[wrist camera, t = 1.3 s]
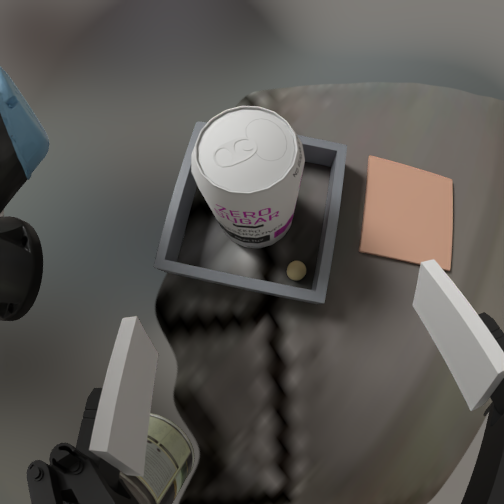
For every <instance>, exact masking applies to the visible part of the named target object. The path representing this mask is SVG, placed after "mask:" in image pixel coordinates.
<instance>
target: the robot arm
mask: <svg viewBox="0 0 504 504" xmlns="http://www.w3.org/2000/svg"><path fill="white" fill-rule="evenodd" d="M48 149H49V139H48V136H47V134H46V132H45V130H44V128H43V127H42V125H41V123H40V122H39V120H38V119H37V117H36V115H35V114H34V112H33V111H32V109H31V108H30V106H29V105H28V103H27V102H26V100H25V99H24V97H23V96H22V94H21V93H20V91H19V90H18V88H17V87H16V85H15V84H14V82H13V81H12V80H11V79H10V77H9V75H8V74H7V73H6V72H5V71H4V70H3V69H2V67H0V213H1V212H2V210H3V209H4V208H5V206H6V205H7V204H8V203H9V201H10V200H11V199H12V198H13V196H14V195H15V194H16V192H17V191H18V190H19V189H20V188H21V187H22V185H23V184H24V183H25V182H26V181H27V180H29V179H30V177H31V174H32V172H33V171H34V170H35V168H36V167H37V166H38V165H39V164H40V162H41V161H42V160H43V159H44V158H45V156H46V154H47V152H48ZM42 273H43V255H42V247H41V244H40V240H39V237H38V235H37V233H36V232H35V230H34V228H33V227H32V226H31V225H30V224H29V223H27V222H25V221H23V220H21V219H18V218H15V217H10V216H8V217H0V320H3V321H14V320H18V319H20V318H21V317H23V316H24V315H25V314H26V313H27V312H28V311H29V310H30V308H31V307H32V305H33V304H34V302H35V300H36V297H37V295H38V292H39V289H40V285H41V279H42ZM413 307H414V309H415V310H416V312H417V314H418V315H419V317H420V318H421V320H422V322H423V323H424V325H425V327H426V329H427V330H428V332H429V334H430V335H431V337H432V339H433V341H434V342H435V344H436V346H437V348H438V349H439V351H440V353H441V355H442V356H443V358H444V360H445V362H446V364H447V366H448V367H449V369H450V371H451V373H452V375H453V377H454V379H455V381H456V383H457V385H458V386H459V388H460V390H461V392H462V394H463V396H464V398H465V400H466V402H467V405H468V407H469V409H470V411H473V410H475V409H477V408H479V407H480V406H482V405H484V404H485V403H486V402H487V400H488V399H489V398H490V397H491V399H492V401H493V402H492V403H491V405H490V406H489V407H488V408H487V409H486V411H485V413H484V416H486V415H487V413H488V412H489V416H488V421H487V424H486V429H485V433H484V437H483V441H482V444H481V448H480V451H479V455H478V458H477V461H476V464H475V467H474V471H473V473H472V476H471V479H470V482H469V485H468V487H467V490H466V493H465V495H464V498H463V500H462V503H461V504H504V333H503V332H502V330H501V329H500V327H499V326H498V325H497V323H496V322H495V320H494V319H493V318H491V317H490V316H489V315H487V314H486V313H485V312H484V313H481V314H479V315H478V314H477V313H476V311H475V310H474V309H473V307H472V306H471V305H470V303H469V302H468V301H467V299H466V298H465V297H464V296H463V294H462V293H461V292H460V290H459V289H458V288H457V287H456V285H455V284H454V283H453V282H452V280H451V279H450V278H449V277H448V275H447V274H446V273H445V272H444V270H443V269H442V268H441V267H440V266H439V264H438V263H437V262H436V261H435V260H434V259H432V260H428V261H424V262H421V265H420V270H419V276H418V281H417V287H416V292H415V296H414V301H413ZM158 356H159V353H158V352H157V350H156V349H155V347H154V345H153V343H152V342H151V340H150V338H149V336H148V335H147V333H146V331H145V329H144V328H143V326H142V324H141V322H140V321H139V319H138V317H137V316H133V317H126V318H122V321H121V325H120V328H119V332H118V335H117V338H116V341H115V345H114V348H113V352H112V355H111V359H110V362H109V366H108V369H107V373H106V377H105V381H104V385H103V388H94V389H93V391H92V392H91V394H90V395H89V397H88V399H87V403H86V407H85V411H84V415H83V420H82V423H81V427H80V432H79V436H78V440H77V445H76V448H75V447H73V446H72V445H70V444H68V443H60V444H58V445H56V446H55V447H54V449H53V450H52V452H51V454H50V465H48V464H46V463H45V462H43V461H41V460H36V461H34V462H32V463H31V464H30V465H29V467H28V470H27V481H28V487H29V492H30V498H31V502H32V504H139V502H138V501H137V500H136V498H135V497H134V496H133V494H132V493H131V492H130V490H129V489H128V487H127V486H126V484H125V483H124V482H123V480H122V479H121V478H120V477H119V475H120V471H121V472H123V473H124V474H126V475H131V476H144V466H145V455H146V445H147V436H148V427H149V419H150V411H151V403H152V396H153V387H154V382H155V375H156V368H157V362H158Z"/></svg>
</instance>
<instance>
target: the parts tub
mask: <svg viewBox="0 0 504 504" xmlns="http://www.w3.org/2000/svg"><path fill="white" fill-rule="evenodd" d="M206 124H207V122H196V125H195V127H194V130H193V133H192V136H191V139H190V142H189V145H188V148H187V151H186V154H185V157H184V160H183V163H182V166H181V170H180V173H179V176H178V179H177V183H176V186H175V189H174V192H173V196H172V200H171V203H170V206H169V210H168V213H167V216H166V220H165V224H164V227H163V231H162V235H161V239H160V243H159V246H158V250H157V254H156V258H155V262H154V266H153V267H154V268H157V269H159V270H162V271H164V272H167V273H171V274H176V275H180V276H184V277H189V278H193V279H197V280H202V281H206V282H211V283H215V284H220V285H225V286H229V287H234V288H239V289H243V290H248V291H253V292H258V293H263V294H268V295H272V296H277V297H282V298H287V299H293V300H298V301H303V302H308V303H313V304H323V303H324V302H325V297H326V291H327V286H328V280H329V275H330V269H331V263H332V257H333V251H334V245H335V238H336V231H337V225H338V217H339V210H340V203H341V195H342V187H343V178H344V169H345V160H346V150H347V145H344V144H339V143H335V142H330V141H325V140H320V139H315V138H310V137H305V136H300V135H297V136H298V137H299V139H300V141H301V142H302V145H303V151H304V157H305V162H310V163H315V164H320V165H324V166H329V167H331V172H330V179H329V187H328V194H327V201H326V207H325V214H324V220H323V227H322V233H321V239H320V245H319V251H318V257H317V262H316V268H315V273H314V279H313V284H312V290H309V289H303V288H298V287H293V286H288V285H283V284H278V283H273V282H268V281H263V280H258V279H253V278H249V277H244V276H239V275H234V274H229V273H225V272H220V271H215V270H211V269H206V268H201V267H197V266H192V265H187V264H183V263H178V262H177V260H178V256H179V252H180V248H181V244H182V240H183V236H184V232H185V228H186V224H187V221H188V217H189V213H190V209H191V206H192V202H193V199H194V195H195V191H196V188H197V183H196V181H195V179H194V176H193V174H192V172H191V154H192V152H193V149H194V147H195V143H196V141H197V138H198V136H199V133H200V131H201V129H202V128H203V127H204V126H205V125H206ZM305 274H306V267H305V265H304V264H303V263H302V262H300V261H293V262H291V263H290V264H289V265H288V268H287V275H288V277H289V278H290V279H291V280H294V281H298V280H301V279H302V278H303V277H304V276H305Z"/></svg>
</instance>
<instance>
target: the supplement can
mask: <svg viewBox="0 0 504 504" xmlns="http://www.w3.org/2000/svg"><path fill="white" fill-rule="evenodd" d="M304 163H305V157H304V151H303V145H302V142H301V141H300V139H299V137H298V136H297V134H296V133H295V131H294V129H293V128H292V127H290V125H289V123H288V122H287V121H286V120H285V119H283V118H282V117H281V116H279V115H278V114H277V113H275V112H274V111H271V110H268V109H265V108H262V107H259V106H240V107H235V108H231V109H228V110H225V111H223V112H221V113H220V114H218V115H216V116H215V117H213V118H211V119H210V121H209V122H208V123H207V124H206V125H205V126H204V127H203V128H202V129H201V131H200V133H199V136H198V138H197V141H196V143H195V147H194V149H193V152H192V154H191V172H192V174H193V176H194V179H195V181H196V183H197V186H198V188H199V190H200V191H201V193H202V195H203V197H204V198H205V200H206V202H207V204H208V205H209V207H210V209H211V210H212V212H213V214H214V216H215V217H216V219H217V221H218V223H219V224H220V226H221V228H222V229H223V231H224V233H225V234H226V235H227V236H228V237H229V238H230V239H231V240H232V241H233V242H235V243H237V244H239V245H242V246H244V247H248V248H262V247H266V246H270V245H273V244H274V243H276V242H277V241H279V240H280V239H281V238H283V237H284V235H285V234H286V233H287V231H288V230H289V228H290V227H291V223H292V219H293V215H294V211H295V206H296V201H297V197H298V192H299V187H300V183H301V178H302V173H303V168H304Z"/></svg>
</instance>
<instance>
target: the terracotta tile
mask: <svg viewBox="0 0 504 504" xmlns="http://www.w3.org/2000/svg"><path fill="white" fill-rule="evenodd" d="M452 230H453V188H452V179H449V178H446V177H443V176H440V175H437V174H434V173H431V172H427V171H424V170H421V169H418V168H414V167H411V166H407V165H404V164H401V163H397V162H393V161H390V160H386V159H382V158H378V157H375V156H371V155H369V157H368V169H367V182H366V193H365V203H364V213H363V222H362V230H361V238H360V246H359V252H362V253H367V254H372V255H377V256H381V257H386V258H391V259H395V260H400V261H405V262H409V263H414V264H418V265H421V262H424V261H428V260H432V259H434V260H435V261H436V262H437V263H438V264H439V266H440V267H441V268H442V269H443V270H445V271H450V267H451V252H452Z"/></svg>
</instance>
